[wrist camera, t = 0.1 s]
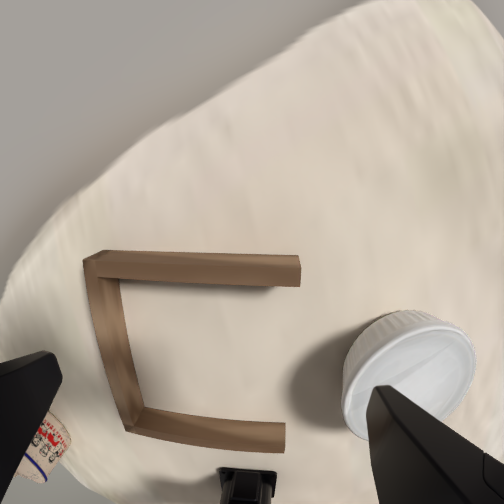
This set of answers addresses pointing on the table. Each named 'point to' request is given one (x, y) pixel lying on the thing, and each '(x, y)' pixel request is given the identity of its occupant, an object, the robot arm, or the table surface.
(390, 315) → the ramekin
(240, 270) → the walnut dock
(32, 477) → the teacup with lid
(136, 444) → the table surface
